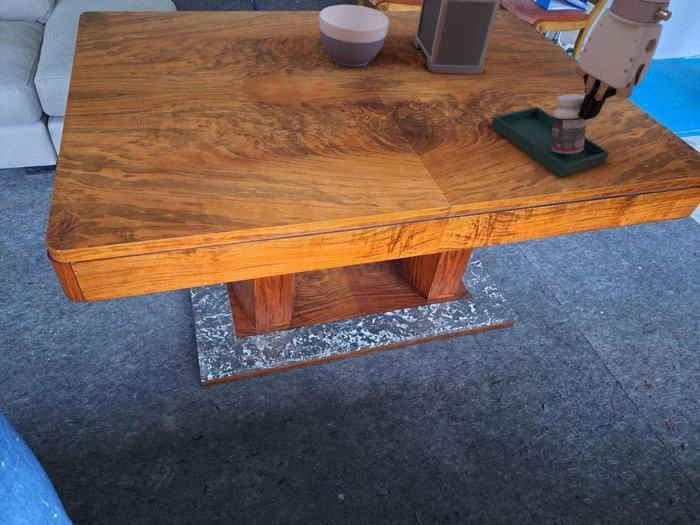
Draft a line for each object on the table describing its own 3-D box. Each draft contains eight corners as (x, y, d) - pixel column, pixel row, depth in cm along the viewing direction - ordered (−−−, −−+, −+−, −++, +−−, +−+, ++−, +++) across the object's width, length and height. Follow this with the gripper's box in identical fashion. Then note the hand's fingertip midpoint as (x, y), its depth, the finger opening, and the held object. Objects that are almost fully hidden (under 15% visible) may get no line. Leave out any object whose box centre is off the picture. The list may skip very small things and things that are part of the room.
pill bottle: (549, 147, 100) (551, 95, 95) (580, 144, 98) (584, 92, 94) (553, 155, 95) (556, 101, 90) (586, 153, 94) (591, 98, 89)
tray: (604, 163, 97) (609, 152, 96) (560, 177, 92) (565, 166, 91) (533, 116, 109) (536, 106, 107) (490, 127, 104) (493, 116, 102)
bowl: (394, 57, 125) (400, 16, 118) (364, 79, 114) (369, 36, 108) (338, 40, 129) (340, -1, 123) (304, 60, 119) (305, 17, 112)
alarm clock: (483, 73, 122) (506, -9, 109) (431, 72, 120) (448, -12, 107) (460, 43, 135) (478, -34, 122) (412, 41, 133) (426, -37, 120)
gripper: (695, 23, 75) (634, 133, 88) (613, -10, 84) (568, 94, 96) (664, 28, 72) (606, 142, 85) (583, -7, 80) (541, 101, 93)
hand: (586, 116), depth 90 cm, fingers closed
